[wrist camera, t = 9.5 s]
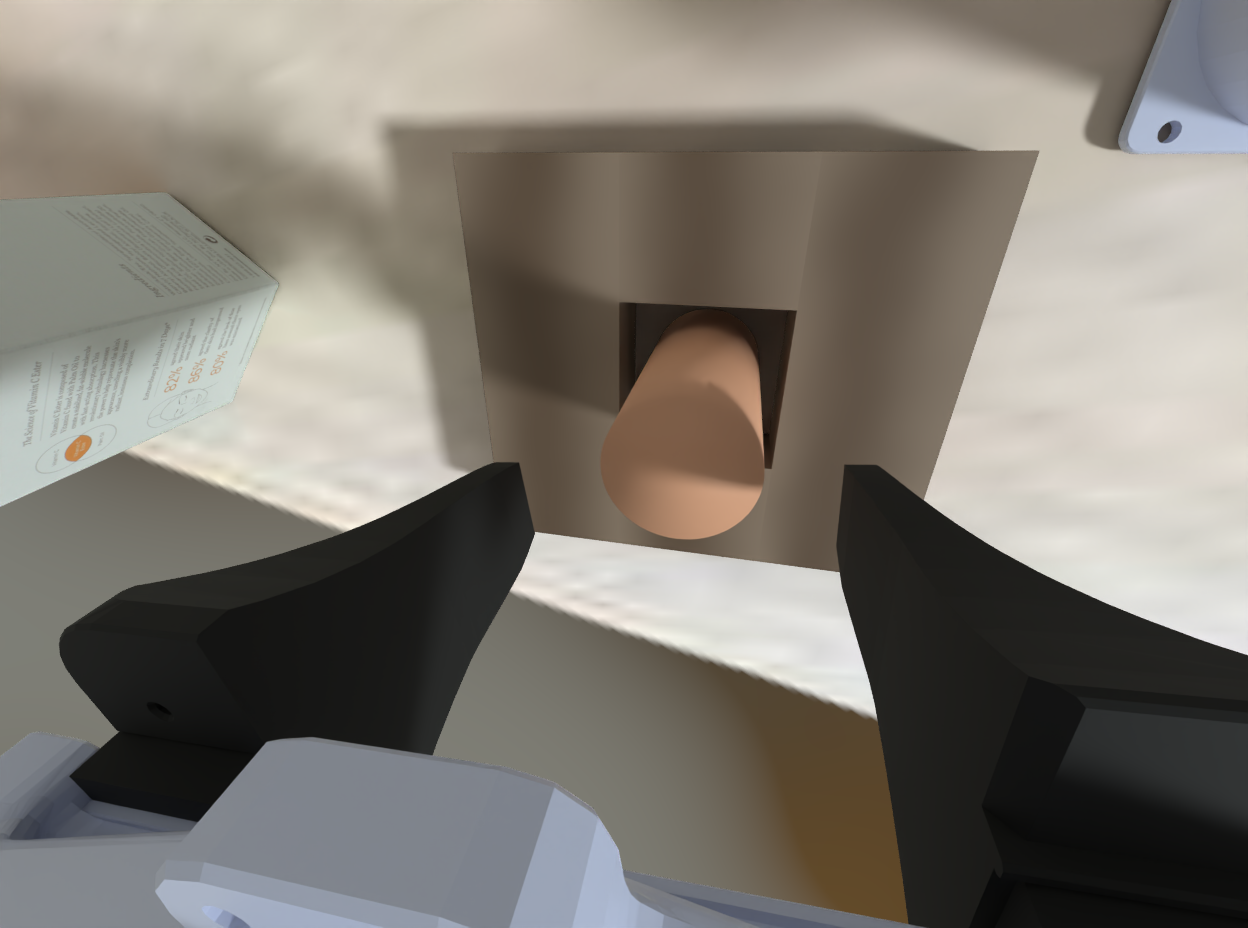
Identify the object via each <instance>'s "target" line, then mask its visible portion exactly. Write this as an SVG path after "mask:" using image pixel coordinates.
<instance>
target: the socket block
mask: <svg viewBox="0 0 1248 928" xmlns="http://www.w3.org/2000/svg"><path fill="white" fill-rule="evenodd" d="M1038 154H1039V151H812V152H565V153H453V160H454V167H455V175H456V182H457V190H458V197H459V205H460V212H461V220H462V227H463V235H464V242H465V250H466V257H467V265H468V272H469V280H470V287H471V295H472V302H473V310H474V317H475V325H476V333H477V340H478V348H479V355H480V363H481V370H482V378H483V385H484V393H485V400H486V408H487V415H488V423H489V430H490V438H491V445H492V453H493V460H494V463H495V462H519V464H520V468H521V473H522V477H523V482H524V486H525V491H526V495H527V500H528V504H529V509H530V513H531V518H532V522H533V527H534V531H535V532H540V533H548V534H555V535H563V536H570V537H578V538H585V539H593V540H601V541H608V542H616V543H623V544H631V545H638V546H646V547H653V548H661V549H669V550H676V551H684V552H691V553H699V554H706V555H714V556H721V557H729V558H737V559H744V560H752V561H759V562H767V563H774V564H782V565H789V566H797V567H805V568H812V569H820V570H827V571H835V572H840V571H839V564H838V556H837V549H836V542H837V532H838V523H839V513H840V503H841V493H842V484H843V474H844V464H847V465H878V466H880V467H881V468H882V469H884V470H885V471H886V472H888V473H889V474H890V475H892V476H893V477H894V478H896V479H897V480H898V481H899V482H901V483H902V484H903V485H904V486H906V487H907V488H908V489H910V490H911V491H912V492H913V493H915V494H916V495H917V496H919V497H920V498H921V499H923V500H924V497H925V494H926V491H927V488H928V485H929V482H930V479H931V476H932V473H933V470H934V467H935V464H936V461H937V458H938V455H939V452H940V449H941V446H942V443H943V440H944V437H945V434H946V431H947V428H948V425H949V422H950V419H951V416H952V413H953V410H954V407H955V404H956V401H957V398H958V395H959V392H960V389H961V386H962V383H963V380H964V377H965V374H966V371H967V368H968V365H969V362H970V359H971V356H972V353H973V350H974V347H975V344H976V341H977V337H978V334H979V331H980V328H981V325H982V322H983V319H984V316H985V313H986V310H987V307H988V304H989V301H990V298H991V295H992V292H993V289H994V286H995V283H996V280H997V277H998V274H999V271H1000V268H1001V265H1002V262H1003V259H1004V256H1005V253H1006V250H1007V247H1008V244H1009V241H1010V238H1011V235H1012V232H1013V229H1014V226H1015V223H1016V220H1017V217H1018V214H1019V211H1020V208H1021V205H1022V202H1023V199H1024V196H1025V193H1026V190H1027V187H1028V184H1029V181H1030V178H1031V175H1032V172H1033V169H1034V166H1035V163H1036V160H1037V157H1038ZM636 303H651V304H672V305H693V306H714V307H734V308H755V309H776V310H788V312H787V319H786V326H785V332H784V339H783V345H782V352H781V359H780V365H779V372H778V378H777V385H776V391H775V398H774V405H773V411H772V418H771V424H770V431H769V434H765V433H763V449H764V468H765V472H764V483H763V488H762V491H761V494H760V497H759V499H758V500H757V502H756V504H755V506H754V507H753V509H752V510H751V511H750V513H749V514H748V515H747V516H746V517H745V518H744V519H743V520H742V521H740V522H739V523H738V524H736V525H735V526H733V527H732V528H730V529H728V530H727V531H724V532H722V533H720V534H717V535H714V536H710V537H706V538H700V539H675V538H668V537H665V536H661V535H657V534H655V533H652V532H650V531H647V530H646V529H644V528H642V527H640V526H638V525H637V524H635V523H634V522H632V521H631V520H630V519H628V518H627V517H626V516H625V515H624V514H623V513H622V512H621V511H620V510H619V509H618V508H617V507H616V505H615V504H614V503H613V501H612V500H611V498H610V496H609V495H608V493H607V490H606V488H605V486H604V483H603V479H602V475H601V468H600V457H601V451H602V447H603V444H604V440H605V438H606V436H607V434H608V432H609V430H610V428H611V427H612V425H613V423H614V421H615V419H616V417H617V416H618V414H619V412H620V410H621V408H622V407H623V405H624V403H625V401H626V399H627V397H628V396H629V394H630V392H631V390H632V388H633V386H634V385H635V334H636Z"/></svg>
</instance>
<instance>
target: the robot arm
mask: <svg viewBox="0 0 1248 928" xmlns="http://www.w3.org/2000/svg"><path fill="white" fill-rule="evenodd" d="M1167 122H1168V123H1170V125H1171V126H1172V130H1171V134H1170V135H1169V137H1168V138H1167V139H1166V140H1165V141H1163V142H1162V143H1160V142H1159V140H1158V139H1157V136H1158V132H1159V130H1160V129H1161V127H1162V126H1163V125H1165V124H1166V123H1167ZM1118 143H1119V147H1120V149H1121V150H1122V151H1124V152H1125V153H1129V154H1248V0H1171V3H1170V5H1169V8H1168V11H1167V13H1166V16H1165V18H1164V21H1163V23H1162V26H1161V29H1160V31H1159V34H1158V36H1157V39H1156V41H1155V44H1154V46H1153V49H1152V52H1151V54H1150V57H1149V59H1148V62H1147V64H1146V67H1145V70H1144V72H1143V75H1142V77H1141V80H1140V82H1139V85H1138V87H1137V90H1136V93H1135V95H1134V98H1133V100H1132V103H1131V105H1130V108H1129V111H1128V113H1127V116H1126V118H1125V121H1124V123H1123V126H1122V129H1121V131H1120V134H1119V139H1118ZM534 535H535V531H534V527H533V522H532V518H531V513H530V509H529V504H528V500H527V495H526V491H525V486H524V482H523V477H522V473H521V468H520V464H519V462H495V463H492V464H489V465H486V466H484V467H482V468H480V469H477V470H475V471H473V472H471V473H469V474H467V475H465V476H463V477H461V478H459V479H457V480H455V481H453V482H451V483H450V484H448V485H446V486H444V487H442V488H440V489H438V490H436V491H434V492H432V493H430V494H428V495H426V496H424V497H422V498H420V499H418V500H416V501H414V502H412V503H410V504H408V505H406V506H404V507H402V508H400V509H398V510H396V511H393V512H391V513H389V514H387V515H385V516H383V517H381V518H379V519H376V520H374V521H372V522H369V523H367V524H365V525H362V526H360V527H357V528H355V529H352V530H349V531H347V532H344V533H342V534H339V535H337V536H334V537H332V538H328V539H326V540H322V541H319V542H316V543H313V544H310V545H307V546H304V547H301V548H298V549H295V550H291V551H288V552H285V553H282V554H279V555H275V556H272V557H268V558H264V559H261V560H257V561H253V562H249V563H246V564H241V565H237V566H233V567H229V568H225V569H220V570H216V571H211V572H207V573H202V574H197V575H191V576H187V577H181V578H176V579H170V580H166V581H160V582H155V583H150V584H143V585H137V586H134V587H131V588H128V589H126V590H124V591H122V592H120V593H118V594H117V595H115V596H114V597H112V598H111V599H109V600H108V601H106V602H105V603H103V604H102V605H100V606H99V607H97V608H96V609H94V610H93V611H91V612H90V613H88V614H87V615H85V616H84V617H82V618H81V619H79V620H78V621H76V622H75V623H73V624H72V625H70V626H69V627H67V628H66V629H65V630H64V632H63V633H62V635H61V637H60V642H59V648H60V656H61V658H62V661H63V663H64V665H65V667H66V669H67V670H68V672H69V673H70V675H71V676H72V677H73V679H74V680H75V682H76V683H77V684H78V685H79V686H80V688H81V689H82V690H83V691H84V692H85V693H86V694H87V695H88V697H89V698H90V699H91V701H92V702H93V703H94V704H95V705H96V706H97V707H98V709H99V710H100V711H101V712H102V713H103V715H104V716H105V717H106V718H107V719H108V720H109V722H110V723H111V724H112V725H113V726H114V728H115V729H116V730H117V731H120V732H118V734H116V735H115V736H114V737H113V738H112V739H111V740H109V741H108V742H107V743H106V744H105V745H104V746H103V747H101V748H99V747H97V746H95V745H93V744H92V743H90V742H88V741H85V740H82V739H79V738H73V737H68V736H62V735H56V734H50V733H45V732H34V733H30V734H28V735H27V736H26V737H25V738H23V739H22V740H21V741H20V742H18V743H17V744H15V745H14V746H13V747H12V748H10V749H9V750H8V751H6V752H5V753H4V754H3V755H1V756H0V928H1248V655H1245V654H1242V653H1239V652H1236V651H1233V650H1229V649H1226V648H1223V647H1220V646H1217V645H1214V644H1211V643H1208V642H1205V641H1202V640H1199V639H1197V638H1194V637H1191V636H1189V635H1186V634H1183V633H1181V632H1178V631H1175V630H1173V629H1170V628H1167V627H1164V626H1162V625H1159V624H1156V623H1154V622H1151V621H1148V620H1146V619H1143V618H1141V617H1138V616H1136V615H1133V614H1131V613H1128V612H1126V611H1123V610H1121V609H1119V608H1116V607H1114V606H1111V605H1109V604H1106V603H1104V602H1102V601H1100V600H1097V599H1095V598H1093V597H1091V596H1088V595H1086V594H1084V593H1082V592H1080V591H1077V590H1075V589H1073V588H1071V587H1069V586H1066V585H1064V584H1062V583H1060V582H1058V581H1056V580H1054V579H1052V578H1050V577H1048V576H1046V575H1043V574H1041V573H1039V572H1037V571H1036V570H1034V569H1032V568H1030V567H1028V566H1026V565H1024V564H1023V563H1021V562H1019V561H1017V560H1015V559H1013V558H1012V557H1010V556H1008V555H1006V554H1004V553H1002V552H1001V551H999V550H997V549H995V548H994V547H992V546H990V545H989V544H987V543H985V542H984V541H982V540H981V539H979V538H978V537H976V536H974V535H973V534H971V533H970V532H968V531H967V530H965V529H964V528H962V527H961V526H959V525H957V524H956V523H954V522H953V521H952V520H950V519H949V518H947V517H946V516H944V515H943V514H942V513H940V512H939V511H937V510H936V509H935V508H933V507H932V506H931V505H929V504H928V503H927V502H925V501H924V500H923V499H921V498H920V497H919V496H917V495H916V494H915V493H913V492H912V491H911V490H910V489H908V488H907V487H906V486H904V485H903V484H902V483H901V482H899V481H898V480H897V479H896V478H894V477H893V476H892V475H890V474H889V473H888V472H886V471H885V470H884V469H882V468H881V467H880V466H878V465H847V464H844V474H843V484H842V493H841V503H840V513H839V523H838V532H837V542H836V549H837V556H838V564H839V571H840V577H841V584H842V589H843V592H844V596H845V599H846V603H847V606H848V610H849V613H850V617H851V620H852V624H853V627H854V631H855V634H856V637H857V641H858V644H859V648H860V651H861V654H862V658H863V661H864V665H865V668H866V672H867V675H868V678H869V682H870V686H871V690H872V694H873V699H874V703H875V708H876V714H877V719H878V725H879V731H880V736H881V742H882V748H883V753H884V760H885V766H886V771H887V778H888V784H889V790H890V796H891V803H892V809H893V816H894V823H895V829H896V836H897V843H898V850H899V856H900V863H901V870H902V877H903V884H904V892H905V900H906V908H907V915H908V923H909V924H904V923H899V922H894V921H889V920H883V919H878V918H873V917H867V916H863V915H857V914H852V913H847V912H841V911H836V910H831V909H825V908H821V907H815V906H810V905H805V904H800V903H794V902H789V901H784V900H779V899H774V898H769V897H763V896H758V895H753V894H748V893H743V892H737V891H732V890H727V889H722V888H716V887H711V886H706V885H700V884H695V883H690V882H685V881H679V880H675V879H669V878H664V877H659V876H654V875H649V874H643V873H638V872H633V871H628V870H622V865H621V860H620V855H619V850H618V848H617V846H616V844H615V843H614V841H613V840H612V838H611V836H610V834H609V833H608V831H607V830H606V828H605V826H604V825H603V823H602V822H601V820H600V819H599V817H598V815H597V814H596V812H595V810H594V809H593V808H592V807H591V806H590V805H588V804H586V803H585V802H584V801H582V800H581V799H579V798H578V797H576V796H574V795H573V794H572V793H570V792H569V791H567V790H566V789H564V788H563V787H561V786H560V785H558V784H557V783H555V782H554V781H551V780H547V779H544V778H541V777H538V776H535V775H531V774H528V773H525V772H522V771H519V770H515V769H512V768H509V767H505V766H498V765H491V764H485V763H478V762H472V761H465V760H459V759H452V758H445V757H439V756H433V752H434V749H435V746H436V744H437V741H438V738H439V736H440V734H441V731H442V728H443V726H444V723H445V721H446V718H447V716H448V713H449V711H450V708H451V706H452V703H453V701H454V698H455V695H456V694H457V691H458V689H459V687H460V684H461V682H462V680H463V677H464V675H465V673H466V670H467V668H468V666H469V664H470V661H471V659H472V657H473V655H474V653H475V651H476V649H477V648H478V646H479V644H480V642H481V640H482V638H483V637H484V635H485V633H486V631H487V629H488V627H489V626H490V624H491V623H492V620H493V619H494V617H495V615H496V614H497V612H498V610H499V609H500V607H501V605H502V603H503V602H504V600H505V598H506V596H507V595H508V593H509V591H510V589H511V587H512V586H513V584H514V582H515V580H516V578H517V576H518V575H519V573H520V571H521V569H522V567H523V564H524V562H525V559H526V557H527V554H528V552H529V549H530V546H531V543H532V540H533V538H534Z"/></svg>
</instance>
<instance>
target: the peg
mask: <svg viewBox="0 0 1248 928" xmlns="http://www.w3.org/2000/svg"><path fill="white" fill-rule="evenodd" d="M600 468H601V475H602V479H603V483H604V486H605V488H606V490H607V493H608V495H609V496H610V498H611V500H612V501H613V503H614V504H615V505H616V507H617V508H618V509H619V510H620V511H621V512H622V513H623V514H624V515H625V516H626V517H627V518H628V519H630V520H631V521H632V522H634V523H635V524H637V525H638V526H640V527H642V528H644V529H646V530H647V531H650V532H652V533H655V534H657V535H661V536H665V537H668V538H675V539H700V538H706V537H710V536H714V535H717V534H720V533H722V532H724V531H727V530H728V529H730V528H732V527H733V526H735V525H736V524H738V523H739V522H740V521H742V520H743V519H744V518H745V517H746V516H747V515H748V514H749V513H750V511H751V510H752V509H753V507H754V506H755V504H756V502H757V500H758V499H759V497H760V494H761V491H762V488H763V483H764V472H765V468H764V449H763V430H762V412H761V393H760V374H759V356H758V348H757V345H756V342H755V339H754V337H753V335H752V333H751V332H750V330H749V329H748V328H747V326H746V325H745V324H744V323H743V322H741V321H740V320H739V319H738V318H736V317H735V316H733V315H731V314H729V313H726V312H723V311H720V310H715V309H700V310H695V311H692V312H688V313H686V314H684V315H682V316H680V317H679V318H677V319H676V320H674V321H673V322H672V323H671V324H670V325H669V326H668V327H667V328H666V329H665V331H664V332H663V334H662V336H661V337H660V339H659V341H658V343H657V345H656V346H655V348H654V350H653V352H652V354H651V356H650V357H649V359H648V361H647V363H646V365H645V366H644V368H643V370H642V372H641V374H640V376H639V377H638V379H637V381H636V383H635V385H634V386H633V388H632V390H631V392H630V394H629V396H628V397H627V399H626V401H625V403H624V405H623V407H622V408H621V410H620V412H619V414H618V416H617V417H616V419H615V421H614V423H613V425H612V427H611V428H610V430H609V432H608V434H607V436H606V438H605V440H604V444H603V447H602V451H601V457H600Z"/></svg>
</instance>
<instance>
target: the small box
mask: <svg viewBox="0 0 1248 928" xmlns="http://www.w3.org/2000/svg"><path fill="white" fill-rule="evenodd" d="M278 286H279V283H278V282H277V281H276V280H275V279H273V278H272V277H271V276H270V275H268V274H267V273H266V272H265V271H263V270H262V269H261V268H260V267H258V266H257V265H256V264H255V263H254V262H252V261H251V260H250V259H249V258H247V257H246V256H245V255H244V254H242V253H241V252H240V251H239V250H238V249H236V248H235V247H234V246H232V245H231V244H230V243H229V242H227V241H226V240H225V239H224V238H222V237H221V236H220V235H219V234H217V233H216V232H215V231H214V230H213V229H211V228H210V227H209V226H208V225H206V224H205V223H204V222H203V221H201V220H200V219H199V218H198V217H196V216H195V215H194V214H193V213H191V212H190V211H189V210H188V209H186V208H185V207H184V206H183V205H181V204H180V203H179V202H178V201H177V200H175V199H174V198H173V197H172V196H170V195H169V194H168V193H165V192H155V193H133V194H111V195H91V196H68V197H49V198H27V199H3V200H0V507H1V506H3V505H5V504H7V503H9V502H12V501H14V500H16V499H18V498H21V497H23V496H25V495H27V494H29V493H32V492H34V491H36V490H38V489H40V488H43V487H44V486H47V485H49V484H51V483H54V482H56V481H58V480H60V479H62V478H65V477H67V476H69V475H71V474H73V473H76V472H78V471H80V470H82V469H84V468H87V467H89V466H91V465H94V464H96V463H98V462H100V461H102V460H105V459H107V458H109V457H111V456H113V455H115V454H118V453H120V452H122V451H125V450H127V449H129V448H131V447H133V446H136V445H138V444H140V443H142V442H145V441H147V440H149V439H151V438H153V437H155V436H158V435H160V434H162V433H164V432H166V431H169V430H171V429H173V428H175V427H177V426H180V425H182V424H184V423H186V422H189V421H191V420H193V419H195V418H197V417H200V416H202V415H204V414H206V413H208V412H211V411H213V410H215V409H217V408H219V407H222V406H224V405H226V404H229V403H231V402H232V401H233V399H234V396H235V393H236V391H237V388H238V386H239V383H240V381H241V378H242V376H243V373H244V371H245V368H246V366H247V363H248V361H249V358H250V356H251V353H252V350H253V348H254V346H255V343H256V341H257V338H258V336H259V333H260V331H261V328H262V326H263V323H264V320H265V318H266V315H267V313H268V310H269V307H270V305H271V303H272V300H273V298H274V295H275V293H276V290H277V288H278Z"/></svg>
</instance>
